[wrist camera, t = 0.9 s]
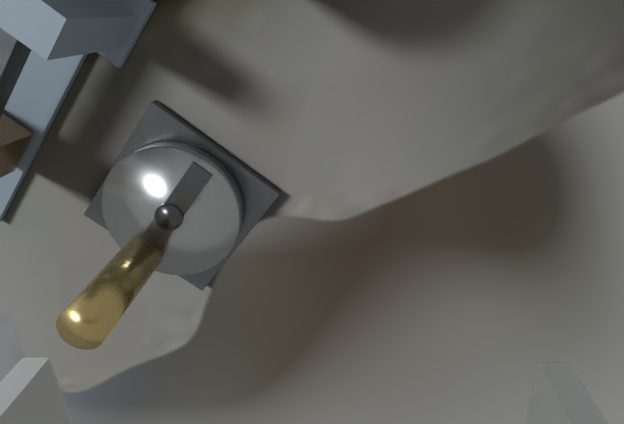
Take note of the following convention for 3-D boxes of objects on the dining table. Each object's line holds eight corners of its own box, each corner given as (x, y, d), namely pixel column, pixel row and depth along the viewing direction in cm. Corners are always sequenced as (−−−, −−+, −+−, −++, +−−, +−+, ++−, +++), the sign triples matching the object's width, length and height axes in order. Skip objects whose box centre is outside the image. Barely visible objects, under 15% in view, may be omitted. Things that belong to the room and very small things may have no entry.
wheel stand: (155, 99, 32) (150, 102, 31) (280, 190, 34) (279, 195, 33) (89, 210, 36) (81, 216, 35) (205, 285, 38) (201, 292, 37)
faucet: (152, 113, 31) (66, 158, 22) (269, 197, 33) (239, 273, 24) (87, 219, 35) (-11, 298, 25) (196, 289, 37) (144, 387, 27)
